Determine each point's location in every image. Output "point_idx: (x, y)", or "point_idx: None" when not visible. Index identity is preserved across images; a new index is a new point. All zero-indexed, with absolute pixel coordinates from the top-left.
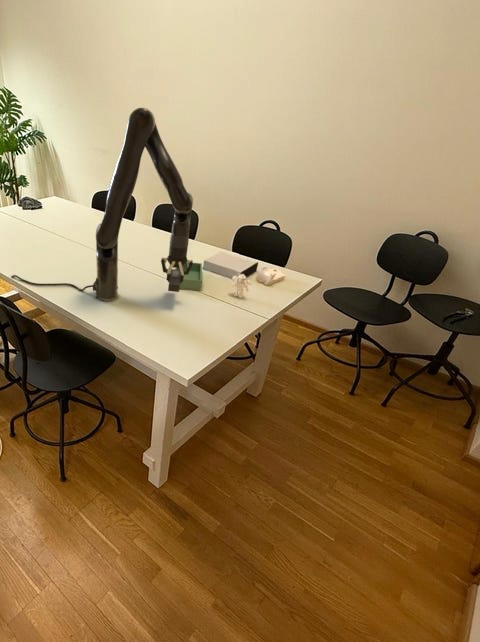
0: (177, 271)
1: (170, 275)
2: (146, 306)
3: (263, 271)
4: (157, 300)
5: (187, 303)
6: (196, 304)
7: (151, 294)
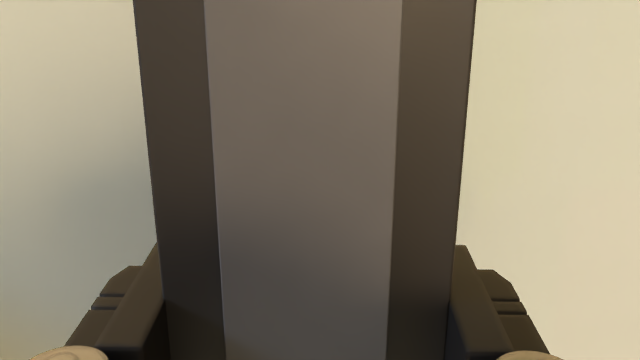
0: (359, 17)
1: (175, 310)
2: (40, 334)
3: None
4: (130, 181)
5: (514, 189)
6: (629, 194)
7: (13, 28)
